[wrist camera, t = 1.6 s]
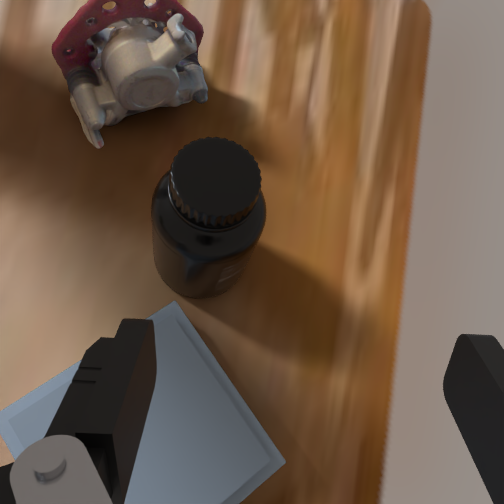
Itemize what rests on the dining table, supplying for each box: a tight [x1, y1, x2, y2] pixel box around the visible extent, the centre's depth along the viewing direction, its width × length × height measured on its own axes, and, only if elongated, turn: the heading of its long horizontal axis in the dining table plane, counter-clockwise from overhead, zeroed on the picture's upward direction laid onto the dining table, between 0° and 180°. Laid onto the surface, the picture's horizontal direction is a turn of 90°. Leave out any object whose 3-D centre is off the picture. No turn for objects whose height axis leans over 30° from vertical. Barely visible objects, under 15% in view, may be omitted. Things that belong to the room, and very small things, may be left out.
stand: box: [0, 301, 286, 504], centre depth 27 cm, size 12×12×4 cm
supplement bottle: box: [151, 137, 266, 298], centre depth 29 cm, size 7×7×12 cm
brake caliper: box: [52, 0, 208, 148], centre depth 35 cm, size 11×11×12 cm
